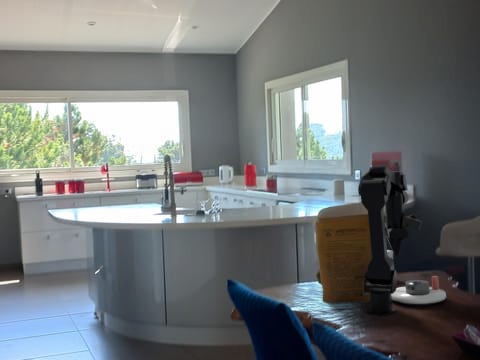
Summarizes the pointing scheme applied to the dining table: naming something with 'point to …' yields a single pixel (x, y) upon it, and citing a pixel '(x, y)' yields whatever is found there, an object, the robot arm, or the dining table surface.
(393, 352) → the dining table surface
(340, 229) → the pancake mix bag
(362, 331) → the dining table surface
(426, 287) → the cover
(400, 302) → the turntable base
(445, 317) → the dining table surface
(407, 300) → the platter
